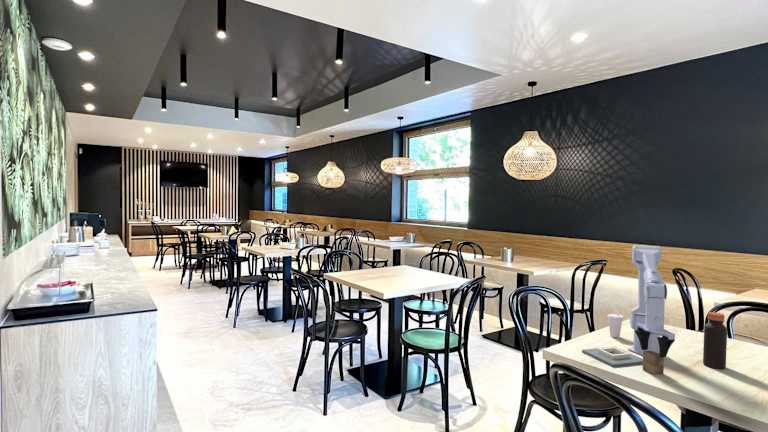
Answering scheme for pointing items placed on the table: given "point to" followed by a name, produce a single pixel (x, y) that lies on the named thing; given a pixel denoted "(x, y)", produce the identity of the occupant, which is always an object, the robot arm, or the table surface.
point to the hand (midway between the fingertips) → (653, 353)
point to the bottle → (715, 341)
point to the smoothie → (615, 324)
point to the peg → (653, 362)
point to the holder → (613, 356)
